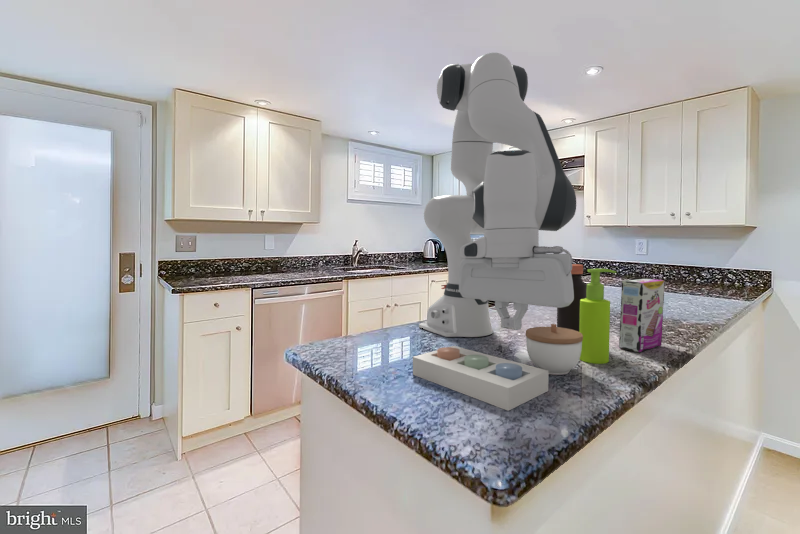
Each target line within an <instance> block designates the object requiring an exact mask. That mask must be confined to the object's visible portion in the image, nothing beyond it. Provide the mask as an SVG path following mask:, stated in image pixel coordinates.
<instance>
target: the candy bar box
mask: <svg viewBox="0 0 800 534" xmlns="http://www.w3.org/2000/svg"><path fill="white" fill-rule="evenodd" d="M665 286H666V281H665V280H663V279H656V278H655V279H654V278H653V279H652V278H639V279H630V280H629V279H628V280H622V281H621V294H620V297H621V299H620V319H619V321H620V323H619V338H618V340H619V342H618V344H619V345H618V348H619V349H621V350H627V351H630V352H634V353H641V352H645V351H648V350H651V349H653V348H658V347H661V346H662V342H663V341H662V339H663V338H662V337H663V319H664V305H665V304H664V303H665Z"/></svg>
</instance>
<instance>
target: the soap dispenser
mask: <svg viewBox="0 0 800 534" xmlns="http://www.w3.org/2000/svg"><path fill="white" fill-rule="evenodd" d="M617 272H618V271H617V270H613V269H608V268H601V267H600V268H598V267H597V268H587V273H590V282H588V283H587V284H586V285H587V289H586V298H585V299H581V300H580V325H579V332H580V333H582V335H583V340H582V351H581V356H580V359H579V361H582V362H585V363H589V364H593V365H594V364H597V365H603V364H604V365H605V364H608V363H609V362H610V332H611V331H610V329H611V324H610V323H611V316H610V315H611V301H610V300H608V299H605V284H603V283H602V282H601V279H600V278H601V273H613V274H616V273H617Z"/></svg>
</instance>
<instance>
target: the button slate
mask: <svg viewBox="0 0 800 534" xmlns="http://www.w3.org/2000/svg"><path fill="white" fill-rule="evenodd" d="M496 375H497V376H500V377H504V378H507V379H510V380H515V379H518V378H520V377H522V367H521V366H519V365H517V364H512V363H500V364H497V365H496Z"/></svg>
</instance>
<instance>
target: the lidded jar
mask: <svg viewBox="0 0 800 534" xmlns="http://www.w3.org/2000/svg"><path fill="white" fill-rule="evenodd" d="M525 338H526V339H525V343H526V351H527V355H528V358H529V359H530V361H531V363H532V364H533V365H534V367H537V368H540V369H544V370H548V371H549V373H548V375H553V376H565V375H567V374H569V373H570V371H572V370H573V369H574V368H575V367H576V366H577V364H578V363H579V362H580V356H581V351H582V340H583V335H582V333H580V332H578V331H575V330H572V329H567V328H560V327H557V323H556V324H555V323H551V324H550V326H536V327H535V326H534V327H530V328H527V329H526V330H525Z"/></svg>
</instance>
